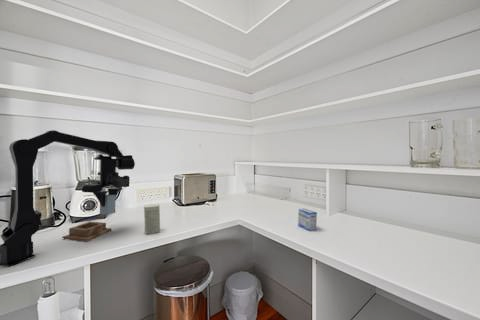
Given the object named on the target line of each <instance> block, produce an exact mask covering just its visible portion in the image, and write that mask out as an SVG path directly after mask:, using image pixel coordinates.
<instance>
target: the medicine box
mask: <svg viewBox="0 0 480 320" xmlns="http://www.w3.org/2000/svg"><path fill="white" fill-rule="evenodd" d="M297 214H298V216H297V217H298V218H297V227H299V228H301V229H303V230H307V231H308V232H312V231H317V222H318V221H317V218H318V217H317V216H318V215H317V214H318V212H316V211H314V210H310V209H308V208H305V207H304V208H302V207H301V208H299V209H298V213H297Z"/></svg>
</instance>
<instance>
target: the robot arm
mask: <svg viewBox="0 0 480 320" xmlns="http://www.w3.org/2000/svg"><path fill="white" fill-rule="evenodd" d="M53 143H59V144H64V145H69V146H74V147H79V148H83V149H88V150H91V151H93V152H96V153H99V154H98V155H97V156H95V157H94V160H96V161H99V160H100V164H99V165H100V166H99V168H100V169H99V171H98V172H97V175H98V176H99V181H97V183H89V184H88V183H87V184H84V185H83V186H82V188H81V193H92V194H93V195H94V197H96V199H97V201H98V202H99V205H100V204H101V206H102V207H104V206H105V197H106V195H107V193H108V194H110V195H116V197H115V199H116V198H117V195H118V194H119V192H120V191H122V190H124V188H128V187H130V180H131V179H130V176H129V175H123V176H119V172H118V171H120V170H121V171H122V170H123V171H125V170H134V168H135V165H136V162H135V159H134V157H133V155H129V154H128V155H123V153H122V151H121V150H120V149H119V146H118V144H117V143H116V142H114V141H111V140H110V141H108V140H95V139H90V138H87V137H81V136H77V135H74V134H68V133H65V132H60V131H58V130H53V129H52V130H51V129H50V130H47V131H45V132H44V133H42V134H39V135H36V136H34V137H31V138H28V139H27V138H25V139H24V138H23V139H17V140H15V141H12V142H11V143H10V145H9V147H8V150H9V153H10V155H11V156H10V157H11V159H12V162H13V164H14V169H15V172H14V173H15V210H14V212H13V215H12V218H11V222H10V226H9V228H8V229H6V230H5V231H4V232H3V233H2V234H1V235H0V238H1V240H2V241H3V243H2V244H0V264H4V265H3V266H6V265H8V266H7V267H11V266H10V265H12V266H14V264H15V265H17V264H19V263H18V262H20V263H22V262H24V261H23V260H25V259H27V260H29V259H28V258H30V259H32V258H34V257H36V254H34V241H32V237H33V235H34V234H36V233H37V232H38V231H39V230H40V226H42V225H43V223H42V220H41V219H42V212H41V211H40V210H37V209H36V210H35V208H34V207H35V206H34V165H35V163H36V161H37V156H38V153H39V150H40V149H42V148H44V147H47V146H48V145H51V144H53ZM117 169H118V171H117ZM106 189H107V190H106ZM33 256H34V257H33ZM31 257H32V258H31ZM21 261H22V262H21ZM25 261H26V260H25ZM16 263H17V264H16Z"/></svg>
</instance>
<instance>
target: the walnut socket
mask: <svg viewBox="0 0 480 320" xmlns="http://www.w3.org/2000/svg"><path fill="white" fill-rule="evenodd" d="M111 231H113V230H112V228H107V223H106V222H102V221H101V222H100V221H99V222H98V221H88V222H84V223H81V224H78V225H76V226H72V227H69V228H68V234H66V235H63V236H62V238H64V239H63V240H65V239H69V240H68V241H74V240H76V242H82V241H83V242H84V243H87V242H89V241H91V240H94V239H96V238H98V237H100V236H103V235H106V234H108V233H109V232H111Z"/></svg>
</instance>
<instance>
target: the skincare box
mask: <svg viewBox="0 0 480 320" xmlns="http://www.w3.org/2000/svg"><path fill="white" fill-rule="evenodd" d="M143 209H144V210H143V212H144V235H149V234H157V233H160V232H161V219H160V217H161V215H160V214H161V213H160V211H161V210H160V203H156V204H144V207H143Z"/></svg>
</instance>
